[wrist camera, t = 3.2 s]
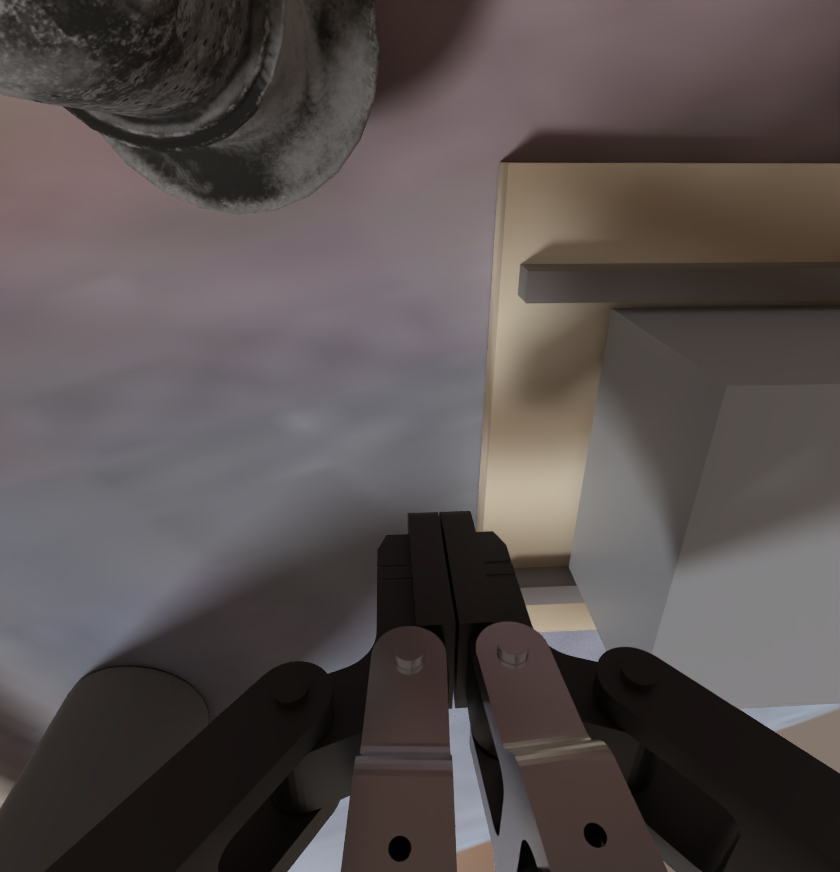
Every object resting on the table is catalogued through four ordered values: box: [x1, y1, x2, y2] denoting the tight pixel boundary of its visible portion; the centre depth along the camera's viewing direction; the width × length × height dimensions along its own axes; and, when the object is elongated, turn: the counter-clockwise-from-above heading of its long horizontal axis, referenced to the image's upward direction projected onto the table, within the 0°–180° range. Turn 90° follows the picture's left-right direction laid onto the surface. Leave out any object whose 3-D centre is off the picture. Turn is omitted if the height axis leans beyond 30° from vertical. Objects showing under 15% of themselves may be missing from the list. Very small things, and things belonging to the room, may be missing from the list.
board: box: [476, 162, 840, 632], centre depth 18 cm, size 16×20×2 cm
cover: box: [569, 305, 840, 709], centre depth 15 cm, size 9×8×6 cm
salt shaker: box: [0, 0, 380, 214], centre depth 8 cm, size 6×6×12 cm
